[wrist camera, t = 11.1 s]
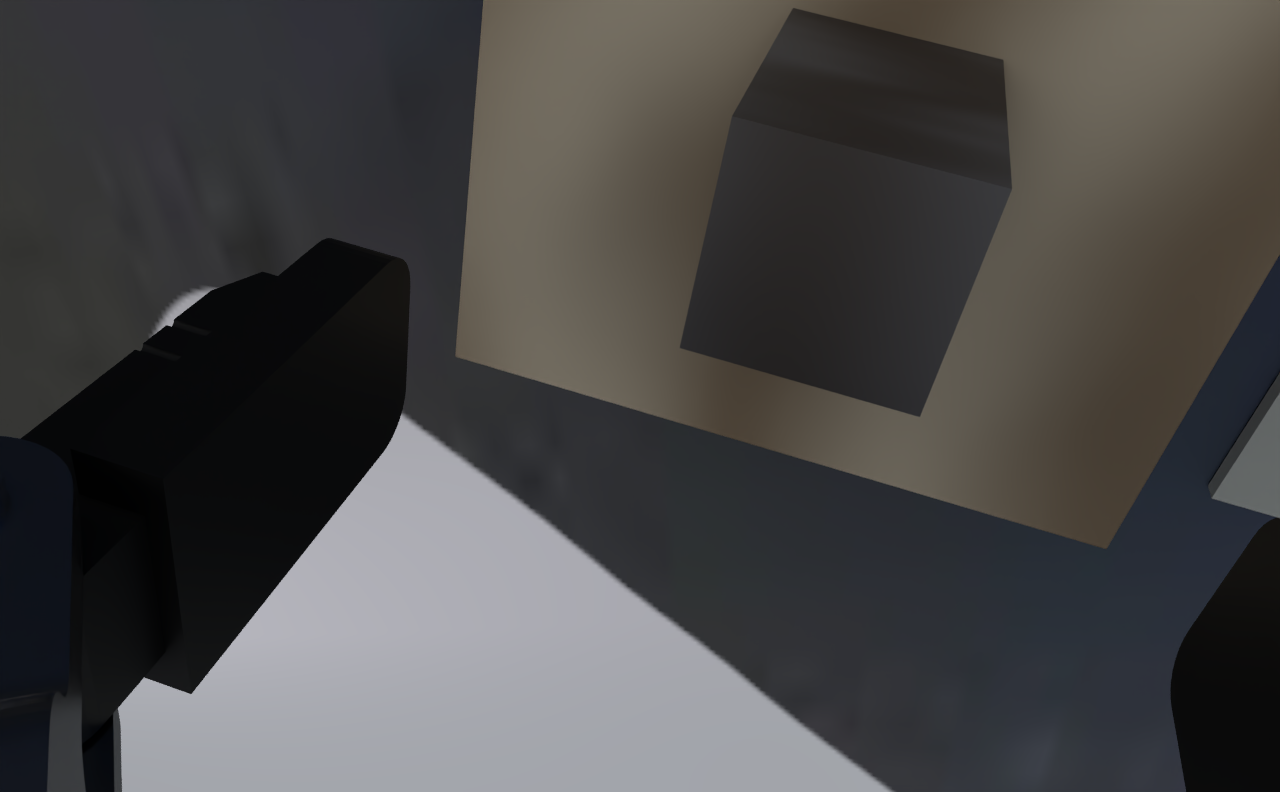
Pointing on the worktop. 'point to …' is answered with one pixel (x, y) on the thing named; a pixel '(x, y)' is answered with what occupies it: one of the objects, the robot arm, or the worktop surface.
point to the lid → (882, 227)
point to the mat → (1254, 461)
